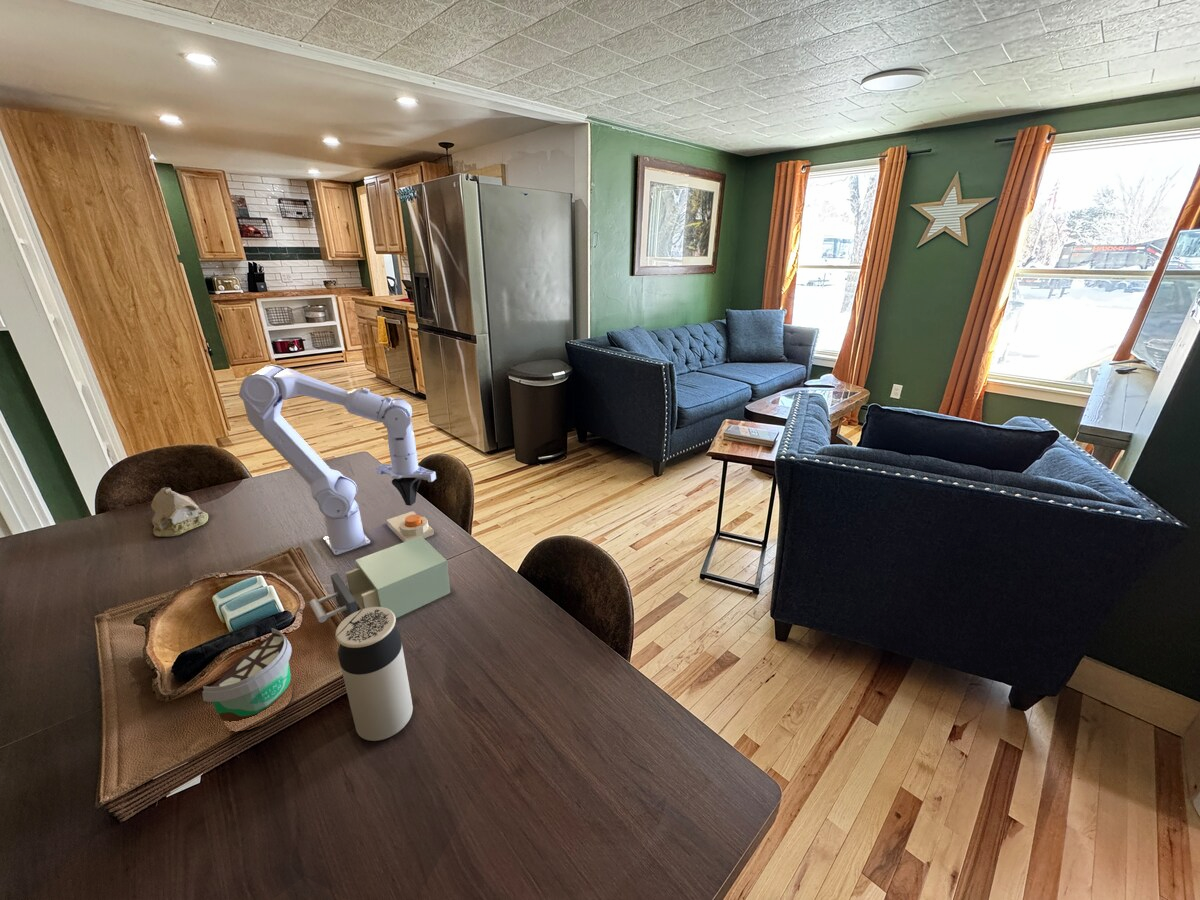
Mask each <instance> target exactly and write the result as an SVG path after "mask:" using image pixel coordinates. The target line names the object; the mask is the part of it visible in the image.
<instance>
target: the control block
mask: <svg viewBox="0 0 1200 900" xmlns="http://www.w3.org/2000/svg"><path fill="white" fill-rule="evenodd" d="M414 514H416V515H418V514H417V513H416V512H415V511H414V510H412V511H409V512H405V513H404V514H399V515H396V516H394V517H391V518H387V519H386V525H387V527H388V528H389V529H390V530H391V531H392V533H394V534H395V535H396V536H397V537H398V538H399V539H400V540H401V541H402V543H403V542H405V541H408V540H411V539H414V538H416V537H419V536H422V537H423V538H424V539H426V538H429V537H431V536H434V535H435V533H434V529H433V528H432V527H431V525H429V520H428V519H427V518H426V517H425V516H421V515H420V517H421V525H419V526H416V527H406V523H405V518H406V517H407V516H409V515H414Z"/></svg>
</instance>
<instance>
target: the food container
mask: <svg viewBox="0 0 1200 900" xmlns="http://www.w3.org/2000/svg"><path fill="white" fill-rule="evenodd" d="M270 629H271V634H270V635H269V636H268V637H267V638H265V640H264V641H262V642H261V643H260V644H259V645H257V646H256V647H255V648H253V649H252V650H250V651H249V652H248V653H245V654H244V655H243V656H242V657H241V658H240V659H239V660H238V661H237V662H236V663H235V664H234V665H233V666H232V667H231V668H230V669H229V670H228V671H227V672H226V673H225V674H224V675H223V676H222V677H221V678H219V680H217V681H216V682H215V683H214V684H212V685H211V686H204V685H203V686H202V689H203V691H202V692H201V693H202V700H203V702H208V703H211V704H212V706H213V707H214V709H215V711H216V712H217V714H218V716H219V717H220V719H221V720H223V721H229V722H231V721H239V720H242V719H246V718H249V717H252V716H255V715H257V714H258V713H260V712H262V711H264V710H266V709H267V708H269V707H270V706H272V705H273V704H275V703H276V702H277V701H278V700H280V699H281V698H282V697H283V695H284V694H285V693H286V692H287V690H288V688H289V687H290V684H291V680H292V674H291V669H290V662H289V661H290V659H291V657H292V652H293V648H292V644H291V642H290V641H289V640H288V638H287V636H286V635H285V634H284V633H283V632H281V631H280V630H278V629H276V628H270ZM223 721H222V722H223Z"/></svg>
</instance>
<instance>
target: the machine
mask: <svg viewBox="0 0 1200 900" xmlns="http://www.w3.org/2000/svg"><path fill="white" fill-rule="evenodd" d="M355 564H356V568H360V569H361V571H362V572H363V573H364V575H365V576H366V577H367V579H368V580H369V581H370V583H371V584H372V585H373V587H374V588H375V589H376V591H377V596H378V601H379V606H380V607H383V608H387V609H389V610H391V611H392V612H393V613H394V615H395V618H396V619H398V618H400V617H402V616H404V615H406V614H409V613H411V612H413V611H415V610H417V609H419V608H421V607H423V606H425V605H427V604H430V603H432V602H434V601H437V600H438V599H441V598H443V597H445V596H447V595H449V594H451V586H450V584H451V583H450V577H449V567H448V560H447V559H446V558H445V557H444V556H443V555H442V554H441V553H440V552H439V551H437V550H436V548H434V546H433V545H431V544H430V543H429V542H428V540H426V538H423V537H422V536H419V537H416V538H414V539H411V540H408V541H405V542H403V541H402V542H400V543H397V544H395V545H392V546H390V547H387V548H384V549H381V550H378V551H376V552H373V553H371V554H368V555H364V556H363V557H359V558H357V559H355Z"/></svg>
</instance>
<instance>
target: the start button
mask: <svg viewBox="0 0 1200 900" xmlns="http://www.w3.org/2000/svg"><path fill="white" fill-rule="evenodd" d="M416 514H417V513H416ZM416 514H414V515H409V516H407V517H406V518H405V523H406V527H416V526H419V525H421V517H422V516H421V515H419V514H417V515H416ZM420 516H421V517H420Z"/></svg>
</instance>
